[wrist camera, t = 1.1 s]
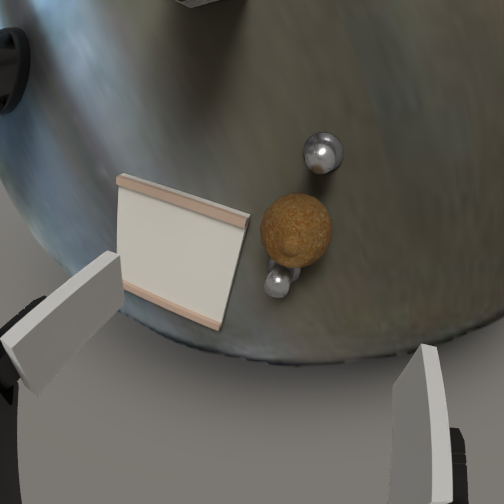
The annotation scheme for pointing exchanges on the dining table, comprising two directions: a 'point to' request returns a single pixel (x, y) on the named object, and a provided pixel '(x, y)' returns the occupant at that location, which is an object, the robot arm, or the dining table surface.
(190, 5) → the coffee box
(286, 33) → the dining table surface
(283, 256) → the fruit
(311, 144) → the pins
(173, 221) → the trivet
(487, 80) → the dining table surface
